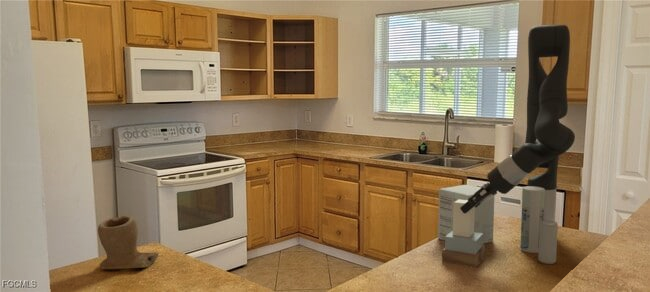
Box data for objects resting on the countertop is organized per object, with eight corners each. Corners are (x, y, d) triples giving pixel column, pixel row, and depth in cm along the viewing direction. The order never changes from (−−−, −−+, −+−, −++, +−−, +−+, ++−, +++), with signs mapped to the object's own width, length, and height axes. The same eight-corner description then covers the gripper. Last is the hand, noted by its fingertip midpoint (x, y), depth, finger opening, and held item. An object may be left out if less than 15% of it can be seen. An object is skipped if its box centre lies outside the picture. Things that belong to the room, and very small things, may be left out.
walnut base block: (452, 253, 160) (452, 240, 159) (484, 258, 155) (485, 246, 154) (442, 262, 151) (442, 249, 151) (475, 268, 146) (476, 255, 146)
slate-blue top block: (453, 241, 159) (454, 229, 158) (482, 245, 154) (483, 233, 154) (445, 249, 151) (445, 236, 151) (475, 254, 147) (475, 241, 146)
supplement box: (463, 232, 181) (464, 184, 179) (493, 241, 170) (495, 190, 168) (436, 238, 174) (438, 188, 172) (466, 248, 163) (468, 195, 161)
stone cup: (91, 275, 141) (88, 223, 140) (109, 260, 153) (106, 212, 151) (146, 275, 142) (143, 222, 140) (159, 260, 153) (157, 212, 152)
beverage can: (557, 265, 148) (559, 225, 146) (540, 264, 149) (541, 224, 147) (553, 259, 152) (555, 220, 151) (536, 258, 153) (538, 219, 152)
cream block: (457, 231, 156) (458, 199, 155) (473, 233, 153) (475, 201, 152) (452, 234, 152) (453, 202, 151) (469, 237, 149) (470, 204, 148)
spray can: (517, 246, 165) (520, 185, 162) (539, 247, 164) (541, 186, 161) (522, 252, 158) (525, 190, 156) (544, 253, 157) (547, 190, 155)
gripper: (507, 160, 150) (468, 193, 158) (490, 167, 138) (450, 202, 147) (524, 180, 147) (484, 213, 155) (509, 188, 136) (467, 223, 144)
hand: (467, 208), depth 151 cm, fingers open, 8 cm apart
